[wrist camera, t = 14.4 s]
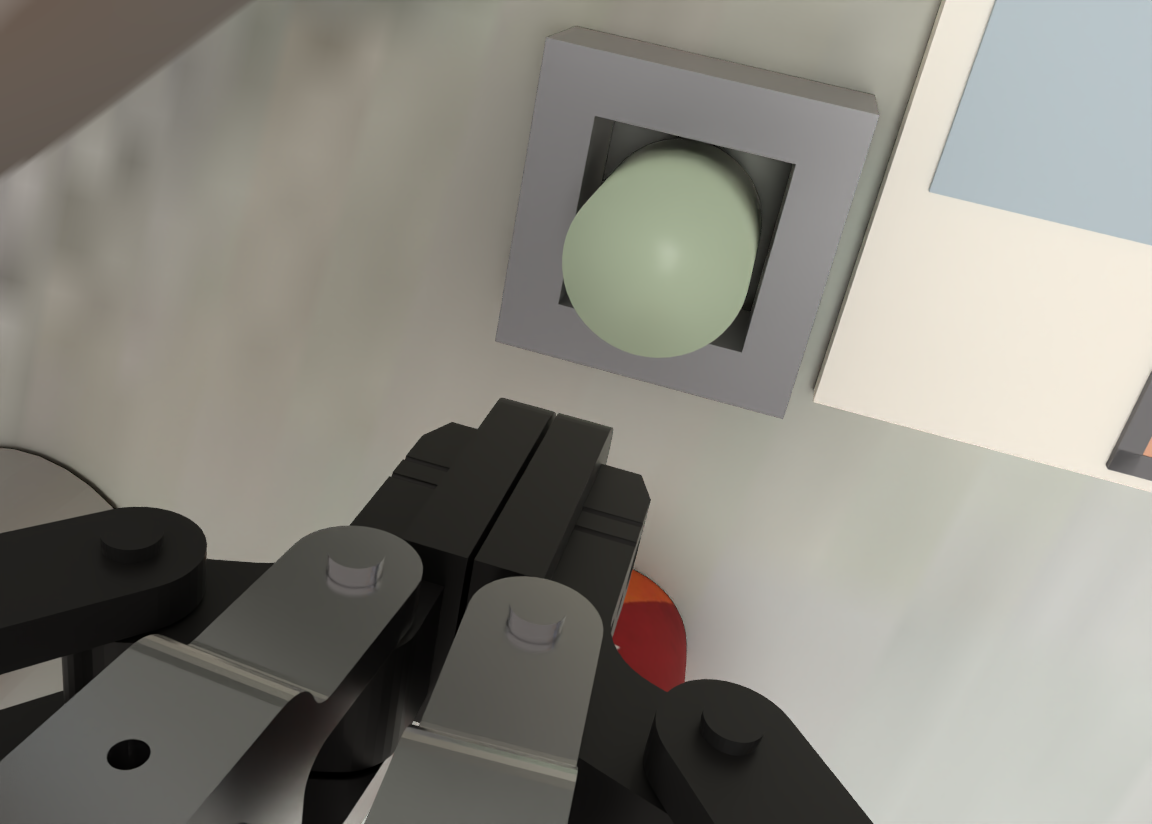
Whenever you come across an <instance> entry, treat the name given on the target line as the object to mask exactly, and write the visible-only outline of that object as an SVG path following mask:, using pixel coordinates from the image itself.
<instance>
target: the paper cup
mask: <svg viewBox="0 0 1152 824" xmlns="http://www.w3.org/2000/svg"><path fill="white" fill-rule="evenodd" d="M612 638H613V642H614V644H615V646H616V648H617V651H618V652H619V654H620V655H621V656H622V658H623V659H624V660H625V662H626V663H627V664H628V665H629V666H630V667H631V668H632V669H633V670H634V671H636V672H637V673H638V674H639V675H640V676H642V677H643V678H645V679H646V680H648V681H649V682H651V683H652V684H654V685H656V686H657V687H659V688H661V689H663V690H664V691H666V692H668V691H669V690H671V689H672V688H673V687H675V686H677V685H679V684H682V683H685V670H686V649H687V645H686V634H685V628H684V625H683V621H682V619H681V616H680V614H679V612H678V610H677V608H676V606H675V605H674V603H673V602H672V601H671V599H670V598H669V597H668V595H667V594H666V593H665V592H664V591H663V590H662V589H661V588H660V587H659V586H658V585H656V584H655V583H654V582H653V581H651V580H650V579H648V578H647V577H645V576H644V575H642V574H640V573H639V572H637V571H635V570H632V574H631V577H630V581H629V585H628V589H627V593H626V596H625V600H624V603H623V606H622V609H621V612H620V615H619V618H618V621H617V625H616V628H615V631H614V634H613V637H612Z"/></svg>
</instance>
